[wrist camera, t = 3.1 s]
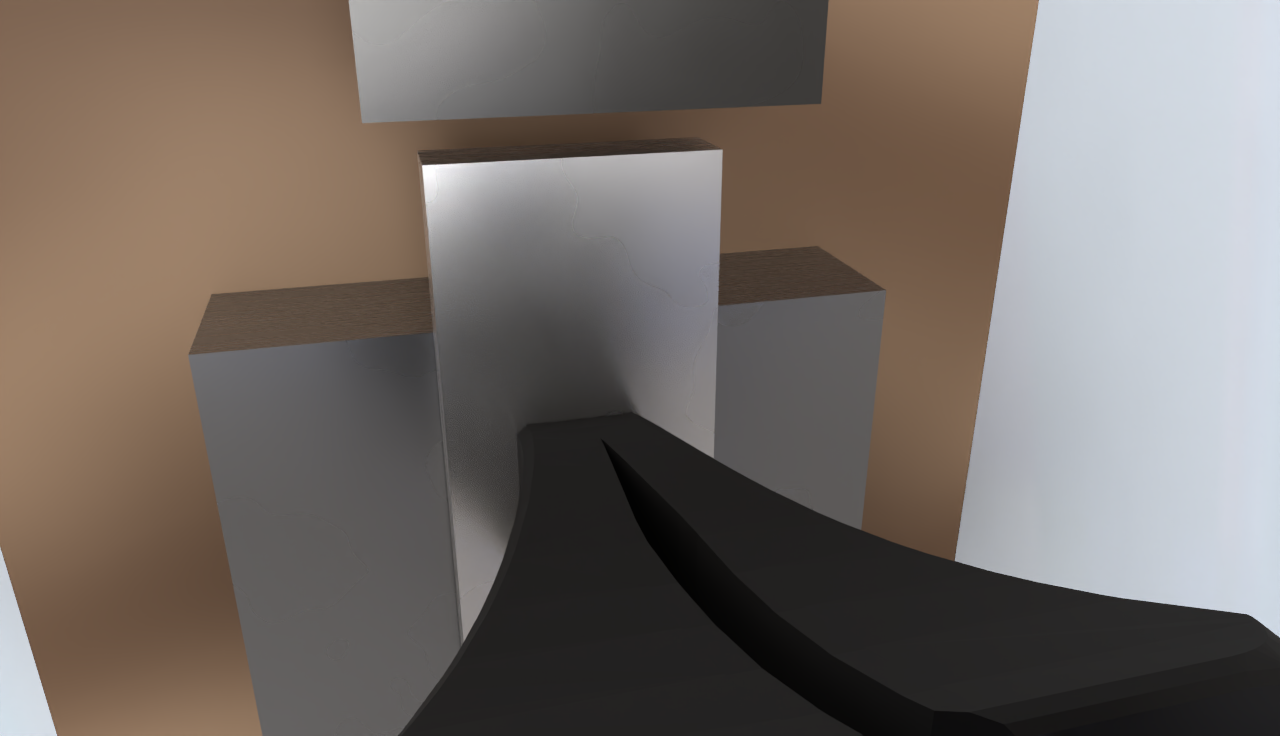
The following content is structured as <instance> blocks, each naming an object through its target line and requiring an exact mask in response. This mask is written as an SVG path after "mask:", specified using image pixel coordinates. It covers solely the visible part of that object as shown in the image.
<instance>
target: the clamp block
mask: <svg viewBox="0 0 1280 736" xmlns="http://www.w3.org/2000/svg"><path fill="white" fill-rule="evenodd" d="M828 3H829V0H349V8H350V18H351V27H352V36H353V45H354V54H355V64H356V73H357V82H358V91H359V100H360V109H361V119H362V123H378V122H402V121H426V120H450V119H474V118H497V117H521V116H545V115H569V114H593V113H617V112H640V111H664V110H688V109H712V108H736V107H760V106H784V105H807V104H821V100H822V87H823V73H824V59H825V45H826V31H827V17H828ZM885 298H886V290H885V289H884V288H882V287H880V286H879V285H877V284H876V283H874V282H873V281H871V280H870V279H868V278H867V277H865V276H863V275H862V274H860V273H859V272H857V271H856V270H854V269H853V268H851V267H850V266H848V265H846V264H845V263H843V262H842V261H840V260H839V259H837V258H836V257H834V256H833V255H831V254H829V253H828V252H826V251H825V250H823V249H822V248H820V247H819V246H811V247H799V248H786V249H774V250H761V251H749V252H736V253H723V254H720V257H719V291H718V326H717V360H716V394H715V428H714V459H715V460H717V461H719V462H721V463H722V464H724V465H726V466H728V467H729V468H731V469H733V470H735V471H737V472H738V473H740V474H742V475H744V476H746V477H747V478H749V479H751V480H753V481H755V482H757V483H759V484H761V485H763V486H765V487H766V488H768V489H770V490H772V491H774V492H776V493H778V494H780V495H783V496H785V497H787V498H789V499H791V500H793V501H795V502H797V503H799V504H801V505H803V506H805V507H807V508H809V509H812V510H814V511H816V512H818V513H820V514H823V515H825V516H827V517H830V518H832V519H834V520H837V521H839V522H841V523H844V524H847V525H849V526H852V527H854V528H857V529H860V530H861V527H862V517H863V508H864V498H865V488H866V479H867V469H868V460H869V450H870V441H871V431H872V422H873V412H874V403H875V393H876V383H877V374H878V364H879V355H880V345H881V336H882V326H883V317H884V307H885ZM188 357H189V363H190V368H191V373H192V378H193V383H194V388H195V393H196V398H197V404H198V409H199V414H200V419H201V424H202V429H203V434H204V439H205V444H206V450H207V455H208V460H209V465H210V470H211V475H212V480H213V485H214V491H215V496H216V501H217V506H218V511H219V516H220V521H221V526H222V532H223V537H224V542H225V547H226V552H227V557H228V562H229V567H230V572H231V578H232V583H233V588H234V593H235V598H236V603H237V608H238V613H239V619H240V624H241V629H242V634H243V639H244V644H245V649H246V654H247V660H248V665H249V670H250V675H251V680H252V685H253V690H254V695H255V700H256V706H257V711H258V716H259V721H260V726H261V731H262V736H398V735H399V734H400V732H401V731H402V730H403V729H404V728H405V726H406V725H407V724H408V722H409V721H410V720H411V718H412V717H413V715H414V714H415V713H416V711H417V710H418V709H419V707H420V706H421V705H422V703H423V702H424V701H425V699H426V698H427V697H428V695H429V694H430V693H431V691H432V690H433V688H434V687H435V686H436V684H437V683H438V682H439V680H440V679H441V678H442V676H443V675H444V673H445V672H446V670H447V669H448V667H449V666H450V664H451V663H452V661H453V659H454V658H455V656H456V654H457V653H458V651H459V650H460V648H461V641H460V629H459V618H458V607H457V595H456V584H455V573H454V562H453V550H452V539H451V528H450V517H449V505H448V494H447V483H446V472H445V460H444V449H443V438H442V426H441V415H440V404H439V393H438V381H437V370H436V359H435V348H434V336H433V325H432V314H431V302H430V291H429V280H428V277H422V278H409V279H397V280H384V281H371V282H359V283H346V284H334V285H321V286H309V287H296V288H283V289H271V290H258V291H246V292H233V293H221V294H212V295H211V297H210V300H209V302H208V305H207V307H206V310H205V313H204V315H203V318H202V320H201V323H200V326H199V328H198V331H197V333H196V336H195V338H194V341H193V344H192V346H191V349H190V351H189V354H188Z"/></svg>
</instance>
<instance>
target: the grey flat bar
mask: <svg viewBox="0 0 1280 736" xmlns="http://www.w3.org/2000/svg"><path fill="white" fill-rule="evenodd" d="M722 154H723V150H722V149H720V148H718V147H716V146H715V145H713V144H711V143H709V142H707V141H705V140H703V139H701V138H699V137H687V138H666V139H646V140H626V141H605V142H585V143H565V144H544V145H524V146H504V147H483V148H463V149H442V150H422V151H417V156H418V167H419V178H420V190H421V201H422V212H423V224H424V235H425V246H426V257H427V269H428V280H429V291H430V302H431V314H432V325H433V336H434V348H435V359H436V370H437V381H438V393H439V404H440V415H441V426H442V438H443V449H444V460H445V472H446V483H447V494H448V505H449V517H450V528H451V539H452V550H453V562H454V573H455V584H456V595H457V607H458V618H459V629H460V641H461V646H462V644H463V642H464V641H465V639H466V637H467V635H468V633H469V631H470V630H471V628H472V626H473V624H474V622H475V621H476V619H477V617H478V615H479V613H480V611H481V609H482V607H483V605H484V603H485V600H486V598H487V596H488V594H489V592H490V590H491V587H492V585H493V583H494V580H495V578H496V575H497V573H498V570H499V568H500V565H501V562H502V560H503V557H504V553H505V550H506V547H507V544H508V540H509V537H510V534H511V530H512V527H513V524H514V521H515V517H516V512H517V507H518V502H519V496H520V486H519V468H518V451H517V435H518V434H519V433H520V432H521V431H522V430H523V428H524V427H525V426H526V425H533V424H542V423H550V422H559V421H567V420H576V419H584V418H593V417H601V416H609V415H617V414H625V413H635V414H637V415H639V416H642V417H643V418H645V419H647V420H649V421H651V422H653V423H654V424H656V425H658V426H660V427H661V428H663V429H665V430H666V431H668V432H670V433H671V434H673V435H675V436H676V437H678V438H680V439H682V440H683V441H685V442H687V443H688V444H690V445H692V446H693V447H695V448H697V449H698V450H700V451H702V452H703V453H705V454H707V455H709V456H710V457H712V458H714V428H715V394H716V360H717V326H718V291H719V257H720V223H721V188H722Z"/></svg>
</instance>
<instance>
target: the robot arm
mask: <svg viewBox="0 0 1280 736" xmlns="http://www.w3.org/2000/svg"><path fill="white" fill-rule="evenodd" d="M517 451H518V468H519V486H520V496H519V502H518V507H517V512H516V517H515V521H514V524H513V527H512V530H511V534H510V537H509V540H508V544H507V547H506V550H505V553H504V557H503V560H502V562H501V565H500V568H499V570H498V573H497V575H496V578H495V580H494V583H493V585H492V587H491V590H490V592H489V594H488V596H487V598H486V600H485V603H484V605H483V607H482V609H481V611H480V613H479V615H478V617H477V619H476V621H475V622H474V624H473V626H472V628H471V630H470V631H469V633H468V635H467V637H466V639H465V641H464V642H463V644H462V646H461V648H460V650H459V651H458V653H457V654H456V656H455V658H454V659H453V661H452V663H451V664H450V666H449V667H448V669H447V670H446V672H445V673H444V675H443V676H442V678H441V679H440V680H439V682H438V683H437V684H436V686H435V687H434V688H433V690H432V691H431V693H430V694H429V695H428V697H427V698H426V699H425V701H424V702H423V703H422V705H421V706H420V707H419V709H418V710H417V711H416V713H415V714H414V715H413V717H412V718H411V720H410V721H409V722H408V724H407V725H406V726H405V728H404V729H403V730H402V731H401V732H400V734H399V735H398V736H1280V638H1279V637H1278V636H1277V635H1275V634H1274V633H1273V632H1272V631H1270V630H1269V629H1268V628H1266V627H1265V626H1264V625H1263V624H1261V623H1260V622H1259V621H1257V620H1256V619H1254V618H1253V617H1251V616H1249V615H1247V614H1240V613H1232V612H1225V611H1217V610H1209V609H1201V608H1193V607H1185V606H1178V605H1170V604H1162V603H1154V602H1146V601H1139V600H1131V599H1123V598H1117V597H1111V596H1105V595H1099V594H1094V593H1089V592H1084V591H1079V590H1074V589H1069V588H1064V587H1058V586H1053V585H1048V584H1043V583H1038V582H1033V581H1029V580H1025V579H1021V578H1016V577H1012V576H1008V575H1004V574H999V573H995V572H991V571H987V570H984V569H980V568H977V567H973V566H970V565H966V564H962V563H959V562H955V561H952V560H948V559H945V558H941V557H938V556H934V555H931V554H927V553H924V552H921V551H918V550H915V549H912V548H909V547H906V546H903V545H900V544H897V543H894V542H891V541H889V540H886V539H883V538H881V537H878V536H876V535H873V534H870V533H868V532H865V531H862V530H860V529H857V528H854V527H852V526H849V525H847V524H844V523H841V522H839V521H837V520H834V519H832V518H830V517H827V516H825V515H823V514H820V513H818V512H816V511H814V510H812V509H809V508H807V507H805V506H803V505H801V504H799V503H797V502H795V501H793V500H791V499H789V498H787V497H785V496H783V495H780V494H778V493H776V492H774V491H772V490H770V489H768V488H766V487H765V486H763V485H761V484H759V483H757V482H755V481H753V480H751V479H749V478H747V477H746V476H744V475H742V474H740V473H738V472H737V471H735V470H733V469H731V468H729V467H728V466H726V465H724V464H722V463H721V462H719V461H717V460H715V459H714V458H712V457H710V456H709V455H707V454H705V453H703V452H702V451H700V450H698V449H697V448H695V447H693V446H692V445H690V444H688V443H687V442H685V441H683V440H682V439H680V438H678V437H676V436H675V435H673V434H671V433H670V432H668V431H666V430H665V429H663V428H661V427H660V426H658V425H656V424H654V423H653V422H651V421H649V420H647V419H645V418H643V417H642V416H639V415H637V414H635V413H625V414H617V415H609V416H601V417H593V418H584V419H576V420H567V421H559V422H550V423H542V424H533V425H526V426H525V427H524V428H523V430H522V431H521V432H520V433H519V434H518V435H517Z"/></svg>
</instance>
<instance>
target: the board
mask: <svg viewBox="0 0 1280 736" xmlns="http://www.w3.org/2000/svg"><path fill="white" fill-rule="evenodd" d="M1038 2H1039V0H829V3H828V17H827V31H826V45H825V59H824V73H823V87H822V100H821V104H807V105H784V106H760V107H736V108H712V109H688V110H664V111H640V112H617V113H593V114H569V115H545V116H521V117H497V118H474V119H450V120H426V121H402V122H378V123H362V119H361V109H360V100H359V91H358V82H357V73H356V64H355V54H354V45H353V36H352V27H351V18H350V8H349V0H0V547H1V550H2V554H3V557H4V560H5V564H6V567H7V570H8V574H9V577H10V580H11V584H12V587H13V590H14V593H15V597H16V600H17V603H18V607H19V610H20V613H21V617H22V620H23V623H24V627H25V630H26V633H27V637H28V640H29V643H30V646H31V650H32V653H33V656H34V660H35V663H36V666H37V670H38V673H39V676H40V680H41V683H42V686H43V690H44V693H45V696H46V700H47V703H48V706H49V709H50V713H51V716H52V719H53V723H54V726H55V729H56V733H57V736H262V731H261V726H260V721H259V716H258V711H257V706H256V700H255V695H254V690H253V685H252V680H251V675H250V670H249V665H248V660H247V654H246V649H245V644H244V639H243V634H242V629H241V624H240V619H239V613H238V608H237V603H236V598H235V593H234V588H233V583H232V578H231V572H230V567H229V562H228V557H227V552H226V547H225V542H224V537H223V532H222V526H221V521H220V516H219V511H218V506H217V501H216V496H215V491H214V485H213V480H212V475H211V470H210V465H209V460H208V455H207V450H206V444H205V439H204V434H203V429H202V424H201V419H200V414H199V409H198V404H197V398H196V393H195V388H194V383H193V378H192V373H191V368H190V363H189V357H188V354H189V351H190V349H191V346H192V344H193V341H194V338H195V336H196V333H197V331H198V328H199V326H200V323H201V320H202V318H203V315H204V313H205V310H206V307H207V305H208V302H209V300H210V297H211V295H212V294H221V293H233V292H246V291H258V290H271V289H283V288H296V287H309V286H321V285H334V284H346V283H359V282H371V281H384V280H397V279H409V278H422V277H428V269H427V257H426V246H425V235H424V224H423V212H422V201H421V190H420V178H419V167H418V156H417V151H422V150H442V149H463V148H483V147H504V146H524V145H544V144H565V143H585V142H605V141H626V140H646V139H666V138H687V137H699V138H701V139H703V140H705V141H707V142H709V143H711V144H713V145H715V146H716V147H718V148H720V149H722V150H723V154H722V188H721V223H720V254H723V253H736V252H749V251H761V250H774V249H786V248H799V247H811V246H819V247H820V248H822V249H823V250H825V251H826V252H828V253H829V254H831V255H833V256H834V257H836V258H837V259H839V260H840V261H842V262H843V263H845V264H846V265H848V266H850V267H851V268H853V269H854V270H856V271H857V272H859V273H860V274H862V275H863V276H865V277H867V278H868V279H870V280H871V281H873V282H874V283H876V284H877V285H879V286H880V287H882V288H884V289H885V290H886V298H885V307H884V317H883V326H882V336H881V345H880V355H879V364H878V374H877V383H876V393H875V403H874V412H873V422H872V431H871V441H870V450H869V460H868V469H867V479H866V488H865V498H864V508H863V517H862V527H861V530H862V531H865V532H868V533H870V534H873V535H876V536H878V537H881V538H883V539H886V540H889V541H891V542H894V543H897V544H900V545H903V546H906V547H909V548H912V549H915V550H918V551H921V552H924V553H927V554H931V555H934V556H938V557H941V558H945V559H948V560H952V561H954V560H955V553H956V546H957V540H958V533H959V527H960V520H961V513H962V507H963V500H964V493H965V487H966V480H967V473H968V467H969V460H970V454H971V447H972V440H973V434H974V427H975V420H976V414H977V407H978V400H979V394H980V387H981V381H982V374H983V367H984V361H985V354H986V347H987V341H988V334H989V327H990V321H991V314H992V307H993V301H994V294H995V288H996V281H997V274H998V268H999V261H1000V254H1001V248H1002V241H1003V234H1004V228H1005V221H1006V215H1007V208H1008V201H1009V195H1010V188H1011V181H1012V175H1013V168H1014V161H1015V155H1016V148H1017V142H1018V135H1019V128H1020V122H1021V115H1022V108H1023V102H1024V95H1025V88H1026V82H1027V75H1028V69H1029V62H1030V55H1031V49H1032V42H1033V35H1034V29H1035V22H1036V15H1037V9H1038Z"/></svg>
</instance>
